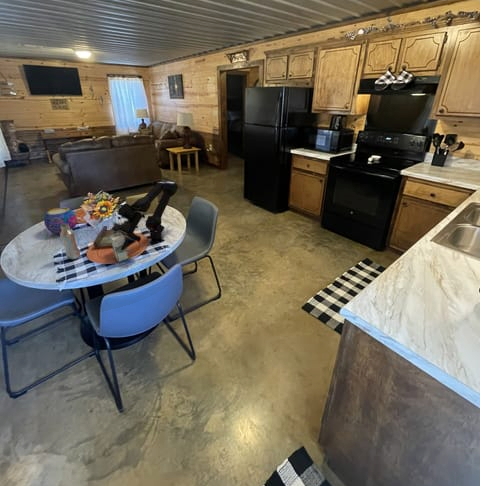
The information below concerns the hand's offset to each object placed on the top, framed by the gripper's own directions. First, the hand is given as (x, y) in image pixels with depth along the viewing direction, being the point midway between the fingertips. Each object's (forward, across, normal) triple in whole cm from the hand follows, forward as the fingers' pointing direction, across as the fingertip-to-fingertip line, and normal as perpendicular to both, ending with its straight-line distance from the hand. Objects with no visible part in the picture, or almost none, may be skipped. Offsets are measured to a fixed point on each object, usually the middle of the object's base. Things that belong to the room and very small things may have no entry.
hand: (117, 248), depth 139 cm
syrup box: (+4, 0, +6) cm, 7 cm away
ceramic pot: (+7, -60, +4) cm, 61 cm away
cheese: (-27, -41, +37) cm, 62 cm away
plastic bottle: (+15, -22, -4) cm, 27 cm away
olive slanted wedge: (-3, -24, +13) cm, 28 cm away
